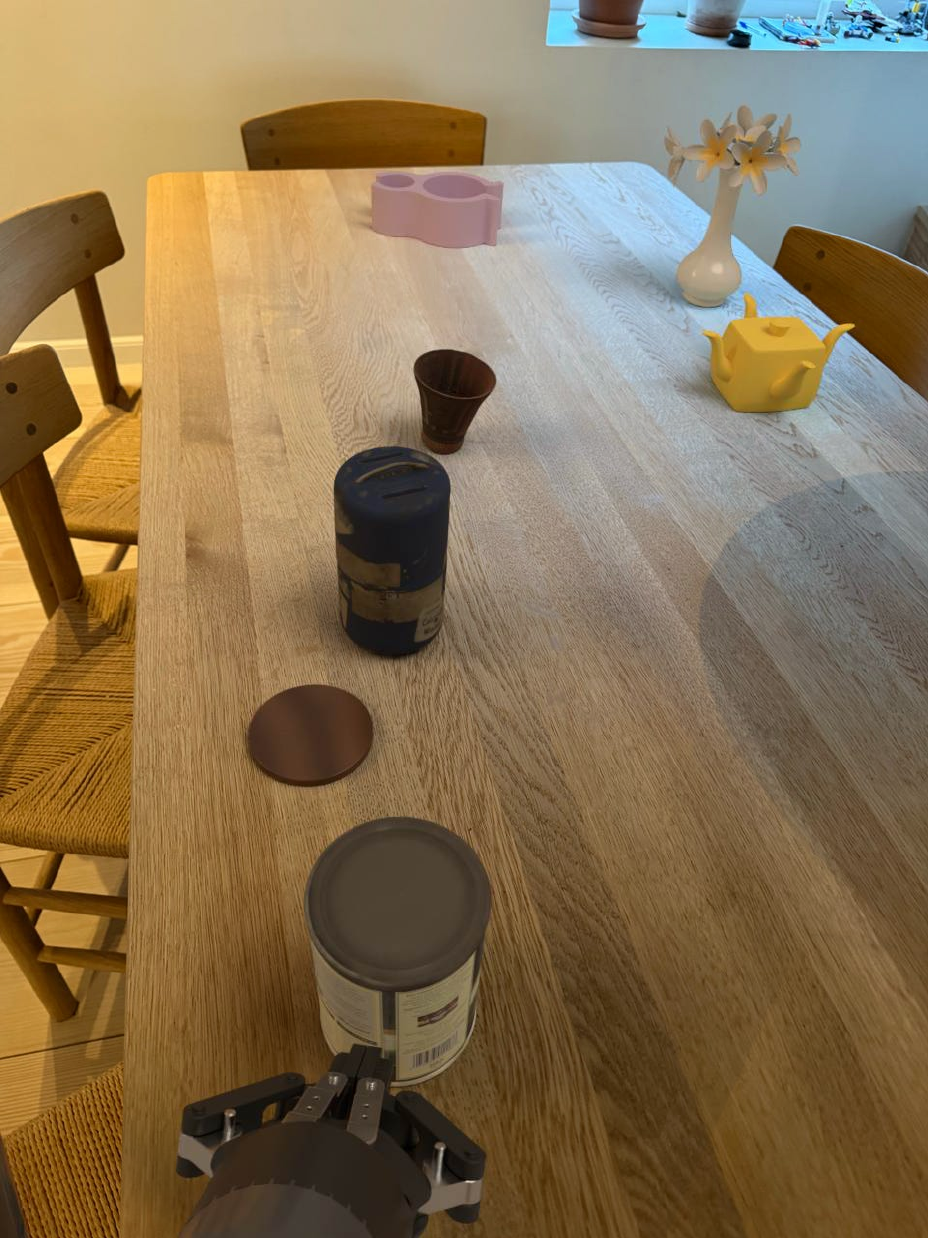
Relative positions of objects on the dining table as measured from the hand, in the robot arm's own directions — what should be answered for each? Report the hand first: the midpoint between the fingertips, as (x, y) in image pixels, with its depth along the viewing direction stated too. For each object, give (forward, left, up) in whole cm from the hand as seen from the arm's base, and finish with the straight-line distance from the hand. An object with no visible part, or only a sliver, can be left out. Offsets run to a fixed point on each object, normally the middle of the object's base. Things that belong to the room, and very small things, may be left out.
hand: (365, 1064), depth 47 cm
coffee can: (+6, +7, -13) cm, 16 cm away
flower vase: (+95, +75, -13) cm, 121 cm away
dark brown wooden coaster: (+11, +30, -13) cm, 34 cm away
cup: (+43, +60, -13) cm, 75 cm away
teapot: (+84, +52, -13) cm, 99 cm away
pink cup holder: (+73, +113, -13) cm, 135 cm away
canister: (+23, +38, -13) cm, 46 cm away
